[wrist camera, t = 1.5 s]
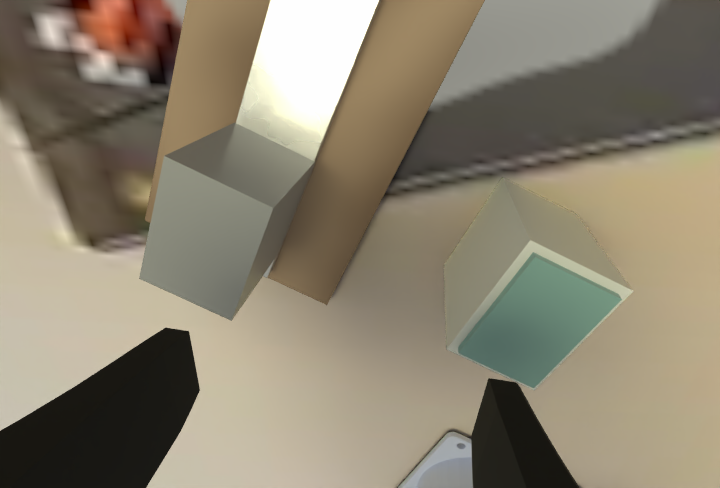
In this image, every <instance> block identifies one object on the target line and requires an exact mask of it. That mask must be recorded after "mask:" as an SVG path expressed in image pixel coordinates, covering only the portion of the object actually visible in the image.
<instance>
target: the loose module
mask: <svg viewBox="0 0 720 488" xmlns="http://www.w3.org/2000/svg"><path fill="white" fill-rule="evenodd" d="M632 292H633V289H632V288H631V287H630V285H629V284H628V283H627V281H626V280H625V279H624V277H623V276H622V275H621V273H620V272H619V271H618V269H617V268H616V267H615V265H614V264H613V263H612V261H611V260H610V259H609V257H608V256H607V255H606V253H605V252H604V251H603V249H602V248H601V247H600V245H599V244H598V243H597V241H596V240H595V239H594V237H593V236H592V235H591V233H590V232H589V231H588V229H587V228H586V227H585V225H584V224H583V223H582V221H581V220H580V219H579V217H578V216H577V215H576V214H575V213H573V212H571V211H569V210H567V209H565V208H563V207H561V206H559V205H557V204H555V203H553V202H551V201H549V200H547V199H545V198H543V197H541V196H539V195H537V194H535V193H533V192H531V191H529V190H527V189H525V188H523V187H521V186H519V185H517V184H515V183H513V182H511V181H509V180H507V179H505V178H503V177H502V179H501V180H500V182H499V183H498V185H497V186H496V188H495V189H494V191H493V192H492V194H491V195H490V197H489V198H488V200H487V201H486V203H485V204H484V206H483V207H482V209H481V210H480V212H479V213H478V215H477V216H476V218H475V219H474V221H473V222H472V224H471V225H470V227H469V228H468V230H467V231H466V233H465V234H464V236H463V237H462V239H461V240H460V242H459V243H458V245H457V246H456V248H455V249H454V251H453V252H452V254H451V255H450V257H449V258H448V260H447V261H446V263H445V264H444V293H445V325H446V349H447V350H449V351H451V352H453V353H455V354H457V355H459V356H462V357H464V358H466V359H468V360H470V361H472V362H474V363H476V364H479V365H481V366H483V367H485V368H487V369H489V370H491V371H494V372H496V373H498V374H500V375H502V376H504V377H506V378H508V379H511V380H513V381H515V382H517V383H519V384H521V385H523V386H526V387H528V388H530V389H532V390H535V389H536V388H537V387H538V386H539V385H540V384H541V383H542V382H543V381H544V380H545V379H546V378H547V377H548V376H549V375H550V374H551V373H552V372H553V371H554V370H555V369H556V368H557V367H558V366H559V365H560V364H561V363H562V362H563V361H564V360H565V359H566V358H567V357H568V356H569V355H570V354H571V353H572V352H573V351H574V350H575V349H576V348H577V347H578V346H579V345H580V344H581V343H582V342H583V341H584V340H585V339H586V338H587V337H588V336H589V335H590V334H591V333H592V332H593V331H594V330H595V329H596V328H597V327H598V326H599V325H600V324H601V323H602V322H603V321H604V320H605V319H606V318H607V317H608V316H609V315H610V314H611V313H612V312H613V311H614V310H615V309H616V308H617V307H618V306H619V305H620V304H621V303H622V302H623V301H624V300H625V299H626V298H627V297H628V296H629V295H630V294H631V293H632Z"/></svg>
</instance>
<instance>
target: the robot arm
mask: <svg viewBox="0 0 720 488" xmlns="http://www.w3.org/2000/svg"><path fill="white" fill-rule="evenodd" d="M199 391H200V389H199V383H198V378H197V372H196V367H195V362H194V356H193V351H192V346H191V340H190V335H189V331H183V330H177V329H170V328H164V329H163V330H161V331H160V332H158V333H156V334H155V335H153V336H152V337H150V338H149V339H147V340H145V341H144V342H142V343H141V344H139V345H138V346H136V347H135V348H133V349H132V350H130V351H129V352H127V353H126V354H124V355H123V356H121V357H120V358H118V359H117V360H115V361H114V362H112V363H111V364H109V365H108V366H106V367H104V368H103V369H101V370H100V371H98V372H97V373H95V374H94V375H92V376H91V377H89V378H87V379H86V380H84V381H83V382H81V383H80V384H78V385H77V386H75V387H73V388H72V389H70V390H69V391H67V392H65V393H64V394H62V395H60V396H59V397H57V398H55V399H54V400H52V401H50V402H49V403H47V404H45V405H44V406H42V407H40V408H39V409H37V410H35V411H34V412H32V413H30V414H29V415H27V416H25V417H24V418H22V419H20V420H19V421H17V422H15V423H13V424H12V425H10V426H8V427H6V428H4V429H3V430H1V431H0V488H146V487H147V485H148V483H149V482H150V480H151V479H152V477H153V475H154V474H155V472H156V471H157V469H158V467H159V466H160V464H161V462H162V461H163V459H164V458H165V456H166V454H167V453H168V451H169V449H170V448H171V446H172V444H173V443H174V441H175V440H176V438H177V436H178V435H179V433H180V431H181V429H182V427H183V425H184V423H185V421H186V419H187V417H188V415H189V413H190V411H191V408H192V406H193V404H194V402H195V400H196V397H197V395H198V393H199ZM398 488H579V486H578V485H577V483H576V482H575V480H574V478H573V477H572V475H571V474H570V472H569V470H568V469H567V467H566V466H565V464H564V463H563V461H562V459H561V458H560V456H559V455H558V453H557V451H556V450H555V448H554V446H553V445H552V443H551V441H550V440H549V438H548V436H547V434H546V433H545V431H544V429H543V428H542V426H541V424H540V422H539V421H538V419H537V417H536V415H535V414H534V412H533V410H532V408H531V407H530V405H529V403H528V401H527V399H526V397H525V396H524V394H523V392H522V390H521V388H520V387H519V385H518V384H517V383H516V382H509V381H503V380H497V379H490V378H489V379H488V382H487V386H486V389H485V392H484V396H483V399H482V402H481V406H480V409H479V412H478V416H477V419H476V423H475V426H474V429H473V433H472V436H471V439H470V438H468V437H465V436H463V435H461V434H459V433H456V432H449V433H447V434H446V435H445V436H444V437H443V438H442V439H441V440H440V442H439V443H438V444H437V445H436V446H435V447H434V448H433V449H432V450H431V451H430V453H429V454H428V455H427V456H426V457H425V458H424V459H423V460H422V461H421V463H420V464H419V465H418V466H417V467H416V468H415V469H414V470H413V471H412V473H411V474H410V475H409V476H408V477H407V478H406V479H405V480H404V481H403V482H402V484H401V485H400V486H399V487H398Z"/></svg>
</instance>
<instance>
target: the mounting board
mask: <svg viewBox="0 0 720 488" xmlns="http://www.w3.org/2000/svg"><path fill="white" fill-rule="evenodd" d="M270 1H271V0H187V5H186V10H185V15H184V20H183V26H182V31H181V36H180V41H179V46H178V51H177V57H176V62H175V67H174V72H173V77H172V83H171V88H170V93H169V98H168V103H167V108H166V114H165V119H164V124H163V129H162V134H161V139H160V145H159V150H158V155H157V160H156V165H155V170H154V176H153V181H152V186H151V191H150V196H149V202H148V207H147V212H146V217H145V220H146V221H148V222H150V223H151V218H152V213H153V208H154V203H155V198H156V193H157V189H158V184H159V179H160V174H161V169H162V164H163V159H164V156H165V155H167V154H169V153H171V152H173V151H175V150H177V149H180V148H182V147H184V146H186V145H188V144H190V143H192V142H194V141H196V140H199V139H201V138H203V137H205V136H207V135H209V134H211V133H213V132H216V131H218V130H220V129H222V128H224V127H226V126H228V125H230V124H232V123H236V120H237V117H238V113H239V110H240V106H241V103H242V99H243V96H244V92H245V89H246V85H247V82H248V78H249V75H250V71H251V68H252V64H253V61H254V57H255V53H256V50H257V46H258V43H259V39H260V36H261V32H262V29H263V25H264V22H265V18H266V15H267V11H268V8H269V4H270ZM484 1H485V0H381V3H380V5H379V7H378V10H377V12H376V15H375V17H374V20H373V22H372V25H371V27H370V30H369V32H368V35H367V37H366V40H365V42H364V45H363V47H362V49H361V52H360V54H359V57H358V59H357V62H356V64H355V67H354V69H353V72H352V74H351V77H350V79H349V82H348V84H347V86H346V89H345V91H344V94H343V96H342V99H341V101H340V104H339V106H338V109H337V111H336V114H335V116H334V119H333V121H332V124H331V126H330V128H329V131H328V133H327V136H326V138H325V141H324V143H323V146H322V148H321V151H320V153H319V156H318V158H317V161H316V163H315V165H314V168H313V170H312V173H311V175H310V178H309V180H308V183H307V185H306V188H305V190H304V193H303V195H302V198H301V200H300V203H299V205H298V207H297V210H296V212H295V215H294V217H293V220H292V222H291V225H290V227H289V230H288V232H287V235H286V237H285V240H284V242H283V245H282V247H281V249H280V252H279V254H278V257H277V259H276V262H275V264H274V267H273V269H272V271H271V273H270V274H269V276H268V278H270V279H272V280H274V281H277V282H279V283H281V284H283V285H285V286H287V287H289V288H292V289H294V290H296V291H298V292H300V293H302V294H304V295H307V296H309V297H311V298H313V299H315V300H317V301H320V302H322V303H324V304H326V305H327V304H328V302H329V300H330V298H331V296H332V294H333V292H334V290H335V289H336V287H337V285H338V283H339V281H340V279H341V277H342V275H343V273H344V271H345V269H346V267H347V265H348V263H349V261H350V260H351V258H352V256H353V254H354V252H355V250H356V248H357V246H358V244H359V242H360V240H361V238H362V236H363V234H364V232H365V231H366V229H367V227H368V225H369V223H370V221H371V219H372V217H373V215H374V213H375V211H376V209H377V207H378V205H379V204H380V202H381V200H382V198H383V196H384V194H385V192H386V190H387V188H388V186H389V184H390V182H391V180H392V178H393V176H394V175H395V173H396V171H397V169H398V167H399V165H400V163H401V161H402V159H403V157H404V155H405V153H406V151H407V149H408V148H409V146H410V144H411V142H412V140H413V138H414V136H415V134H416V132H417V130H418V128H419V126H420V124H421V122H422V120H423V119H424V117H425V115H426V113H427V111H428V109H429V107H430V105H431V103H432V101H433V99H434V97H435V95H436V93H437V92H438V89H439V88H440V86H441V84H442V82H443V80H444V78H445V76H446V74H447V72H448V70H449V68H450V66H451V64H452V63H453V61H454V59H455V57H456V55H457V53H458V51H459V49H460V47H461V45H462V43H463V41H464V39H465V37H466V35H467V34H468V32H469V30H470V27H471V26H472V24H473V22H474V20H475V18H476V16H477V14H478V12H479V10H480V8H481V7H482V4H483V3H484Z"/></svg>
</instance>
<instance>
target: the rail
mask: <svg viewBox="0 0 720 488" xmlns="http://www.w3.org/2000/svg"><path fill="white" fill-rule="evenodd" d="M380 3H381V0H271V1H270V4H269V8H268V11H267V15H266V18H265V22H264V25H263V29H262V32H261V36H260V39H259V43H258V46H257V50H256V53H255V57H254V61H253V64H252V68H251V71H250V75H249V78H248V82H247V85H246V89H245V92H244V96H243V99H242V103H241V106H240V110H239V113H238V117H237V120H236V123H237V124H239V125H241V126H243V127H245V128H247V129H249V130H251V131H253V132H255V133H257V134H259V135H261V136H263V137H265V138H267V139H269V140H272V141H274V142H276V143H278V144H280V145H282V146H284V147H286V148H288V149H290V150H292V151H294V152H296V153H298V154H300V155H302V156H304V157H306V158H308V159H310V160H313V161H315V163H316V161H317V158H318V156H319V153H320V151H321V148H322V146H323V143H324V141H325V138H326V136H327V133H328V131H329V128H330V126H331V124H332V121H333V119H334V116H335V114H336V111H337V109H338V106H339V104H340V101H341V99H342V96H343V94H344V91H345V89H346V86H347V84H348V82H349V79H350V77H351V74H352V72H353V69H354V67H355V64H356V62H357V59H358V57H359V54H360V52H361V49H362V47H363V45H364V42H365V40H366V37H367V35H368V32H369V30H370V27H371V25H372V22H373V20H374V17H375V15H376V12H377V10H378V7H379V5H380ZM315 163H314V165H315ZM314 165H313V168H314ZM313 168H312V170H313ZM312 170H311V173H312ZM311 173H310V175H311ZM310 175H309V178H310ZM309 178H308V180H309ZM308 180H307V183H308ZM307 183H306V185H307ZM306 185H305V188H306ZM305 188H304V190H305ZM304 190H303V193H304ZM303 193H302V195H303ZM302 195H301V198H302ZM301 198H300V200H301ZM300 200H299V203H300ZM299 203H298V205H299ZM298 205H297V207H298ZM296 210H297V208H296ZM296 210H295V212H296ZM294 215H295V213H294ZM294 215H293V217H294ZM293 217H292V220H293ZM292 220H291V222H292ZM291 222H290V225H291ZM290 225H289V227H290ZM289 227H288V230H289ZM288 230H287V232H288ZM287 232H286V235H287ZM286 235H285V237H286ZM285 237H284V240H285ZM284 240H283V242H284ZM283 242H282V245H283ZM282 245H281V247H282ZM281 247H280V249H281ZM279 252H280V250H279ZM279 252H278V254H279ZM277 257H278V255H277V256H276V258H275V259H274V260H273V262H272V263H271V265H270V266H269V268H268V269H267V271H266V272H265V273H264V275H263V276H264V277H266V278H267V277H268V276H269V274H270V273H271V271H272V269H273V267H274V264H275V262H276V259H277Z"/></svg>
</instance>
